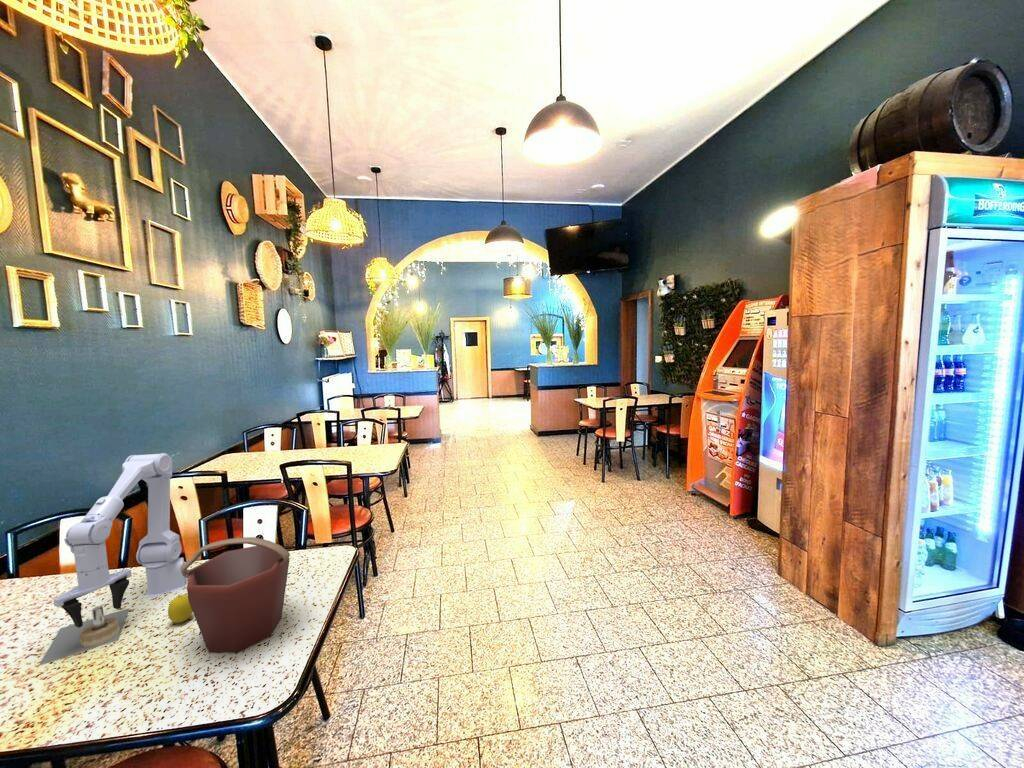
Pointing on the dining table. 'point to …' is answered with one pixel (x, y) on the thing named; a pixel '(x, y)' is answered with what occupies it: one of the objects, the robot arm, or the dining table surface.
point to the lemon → (179, 609)
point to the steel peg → (98, 618)
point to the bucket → (238, 593)
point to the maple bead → (99, 633)
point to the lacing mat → (77, 639)
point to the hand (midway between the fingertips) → (98, 616)
